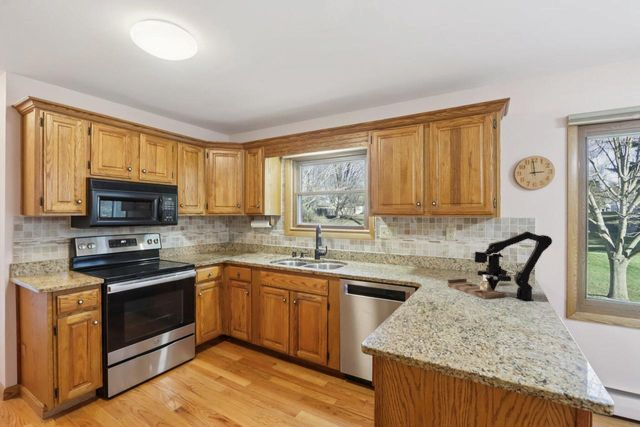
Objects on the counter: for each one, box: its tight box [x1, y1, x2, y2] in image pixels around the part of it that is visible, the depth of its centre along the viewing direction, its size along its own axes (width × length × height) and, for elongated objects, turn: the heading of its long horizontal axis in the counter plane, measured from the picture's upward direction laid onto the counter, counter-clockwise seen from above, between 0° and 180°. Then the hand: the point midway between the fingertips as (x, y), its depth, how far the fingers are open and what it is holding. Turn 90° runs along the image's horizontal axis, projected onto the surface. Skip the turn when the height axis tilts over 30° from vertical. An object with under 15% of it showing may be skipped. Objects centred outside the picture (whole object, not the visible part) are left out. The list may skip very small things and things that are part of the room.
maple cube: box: [479, 280, 493, 291], centre depth 183 cm, size 5×5×5 cm
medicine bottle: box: [482, 266, 500, 287], centre depth 206 cm, size 7×7×12 cm
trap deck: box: [447, 278, 506, 300], centre depth 188 cm, size 30×15×4 cm, turn 18°
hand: (493, 289), depth 179 cm, fingers closed
